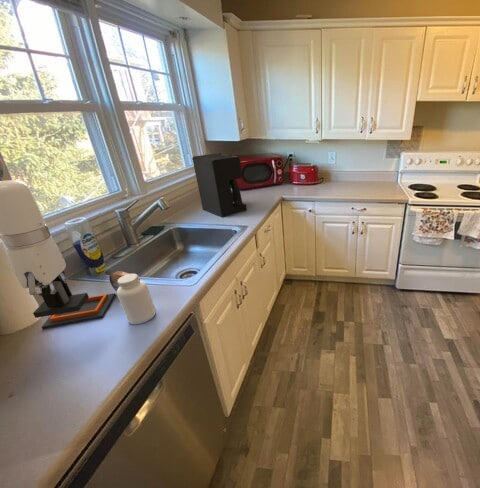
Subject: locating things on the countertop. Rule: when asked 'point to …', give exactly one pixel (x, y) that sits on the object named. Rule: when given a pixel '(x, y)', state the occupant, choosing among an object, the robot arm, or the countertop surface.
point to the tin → (116, 278)
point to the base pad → (83, 312)
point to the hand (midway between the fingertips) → (60, 301)
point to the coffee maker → (219, 183)
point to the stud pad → (64, 308)
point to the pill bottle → (135, 299)
